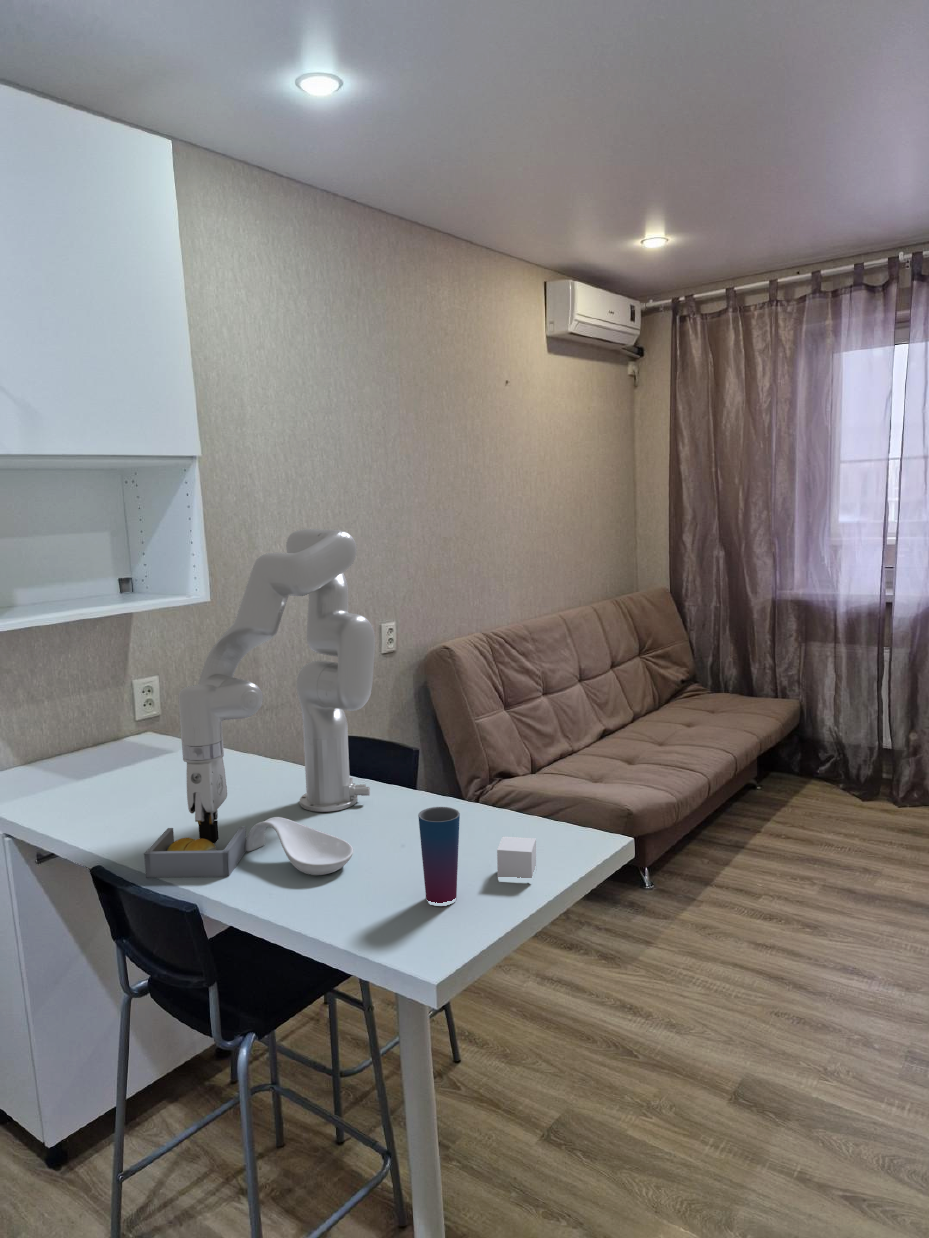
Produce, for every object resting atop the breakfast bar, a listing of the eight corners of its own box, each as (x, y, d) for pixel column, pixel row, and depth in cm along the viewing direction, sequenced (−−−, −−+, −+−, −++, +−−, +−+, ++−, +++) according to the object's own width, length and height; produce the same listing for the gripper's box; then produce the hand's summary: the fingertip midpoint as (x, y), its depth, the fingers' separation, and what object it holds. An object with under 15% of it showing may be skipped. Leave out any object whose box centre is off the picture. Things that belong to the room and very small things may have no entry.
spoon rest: (366, 864, 161) (365, 827, 160) (323, 889, 152) (321, 850, 151) (274, 838, 174) (272, 804, 173) (229, 860, 165) (226, 823, 164)
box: (246, 849, 169) (245, 826, 168) (229, 876, 157) (227, 852, 156) (169, 850, 169) (167, 827, 168) (146, 877, 157) (144, 853, 157)
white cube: (536, 870, 157) (536, 838, 156) (531, 885, 151) (531, 851, 150) (503, 867, 158) (502, 836, 157) (497, 882, 152) (497, 849, 152)
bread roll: (183, 849, 170) (181, 829, 170) (223, 853, 167) (221, 833, 167) (156, 866, 162) (154, 845, 162) (197, 871, 160) (196, 850, 159)
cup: (461, 890, 150) (459, 805, 147) (462, 908, 143) (460, 821, 141) (421, 891, 149) (418, 807, 147) (420, 910, 143) (417, 822, 140)
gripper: (210, 762, 159) (216, 857, 162) (233, 738, 174) (239, 826, 177) (169, 762, 160) (176, 858, 162) (196, 739, 174) (202, 827, 177)
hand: (209, 841), depth 170 cm, fingers closed
